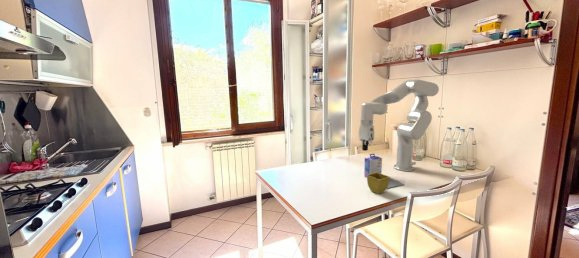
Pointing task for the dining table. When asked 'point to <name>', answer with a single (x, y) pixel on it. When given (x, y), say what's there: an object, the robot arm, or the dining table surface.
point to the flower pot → (377, 182)
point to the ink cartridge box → (373, 165)
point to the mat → (394, 183)
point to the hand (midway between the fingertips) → (364, 150)
